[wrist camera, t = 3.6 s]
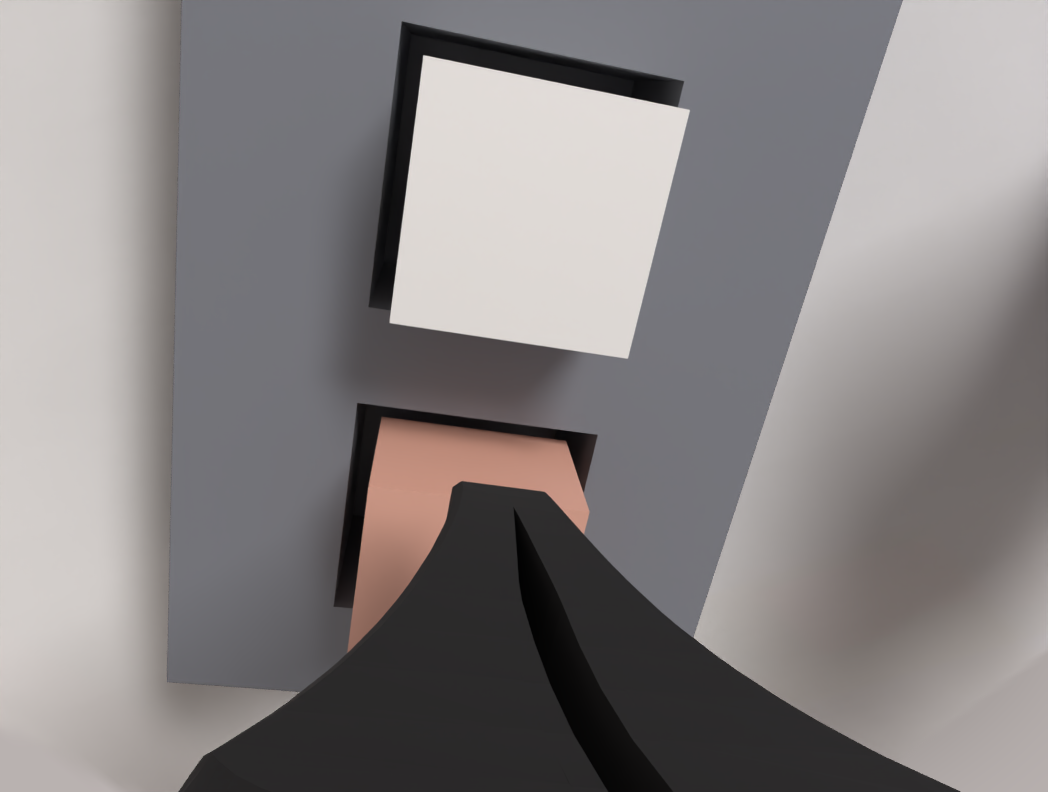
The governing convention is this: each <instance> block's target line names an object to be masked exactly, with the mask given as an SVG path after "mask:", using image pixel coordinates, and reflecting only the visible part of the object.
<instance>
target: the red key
mask: <svg viewBox="0 0 1048 792" xmlns="http://www.w3.org/2000/svg"><path fill="white" fill-rule="evenodd" d="M461 481H466V482H474V483H482V484H489V485H497V486H505V487H513V488H520V489H528V490H536V491H543V492H546V493H547V494H548V495H549V496H550V497H551V498H552V499H553V500H554V501H555V503H556V504H557V505H558V506H559V507H560V508H561V509H562V510H563V511H564V513H565V514H566V515H567V516H568V517H569V518H570V519H571V521H572V522H573V523H574V524H575V525H576V526H577V527H578V528H579V530H580V531H581V532H582V533H583V534H584V532H585V528H586V524H587V520H588V516H589V512H590V511H589V508H588V505H587V502H586V499H585V496H584V493H583V490H582V487H581V484H580V481H579V478H578V475H577V472H576V469H575V466H574V463H573V460H572V457H571V454H570V451H569V448H568V445H567V442H566V441H565V440H557V439H550V438H542V437H534V436H527V435H519V434H511V433H504V432H496V431H488V430H481V429H473V428H465V427H458V426H450V425H442V424H435V423H427V422H419V421H412V420H404V419H397V418H389V417H382V418H381V423H380V428H379V434H378V439H377V444H376V449H375V455H374V460H373V465H372V471H371V476H370V481H369V486H368V494H367V502H366V510H365V518H364V526H363V533H362V541H361V549H360V557H359V565H358V573H357V580H356V588H355V596H354V604H353V612H352V620H351V627H350V635H349V643H348V651H347V653H348V652H349V651H350V650H351V649H352V648H353V647H354V646H355V645H356V644H357V643H358V642H359V641H360V640H361V639H362V638H363V637H364V636H365V635H366V634H367V633H368V632H369V631H370V630H371V629H372V628H373V627H374V626H375V625H376V624H377V622H378V621H379V620H380V619H381V618H382V617H383V616H384V614H385V613H386V612H387V611H388V610H389V609H390V607H391V606H392V605H393V604H394V603H395V601H396V600H397V599H398V598H399V596H400V595H401V594H402V592H403V591H404V590H405V588H406V587H407V586H408V584H409V583H410V582H411V580H412V579H413V577H414V576H415V574H416V572H417V571H418V569H419V568H420V566H421V565H422V563H423V562H424V560H425V559H426V557H427V556H428V554H429V552H430V551H431V549H432V547H433V545H434V543H435V541H436V539H437V537H438V535H439V534H440V532H441V530H442V528H443V526H444V524H445V521H446V518H447V513H448V508H449V502H450V497H451V492H452V487H453V486H455V485H456V484H458V483H459V482H461Z"/></svg>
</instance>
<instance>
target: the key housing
mask: <svg viewBox="0 0 1048 792" xmlns="http://www.w3.org/2000/svg"><path fill="white" fill-rule="evenodd" d="M902 1H903V0H182V10H181V57H180V103H179V149H178V195H177V242H176V288H175V334H174V381H173V427H172V473H171V519H170V566H169V612H168V658H167V682H174V683H188V684H202V685H215V686H229V687H242V688H256V689H269V690H283V691H296V692H301V691H302V690H304V689H305V688H306V687H308V686H309V685H310V684H311V683H313V682H314V681H315V680H316V679H318V678H319V677H320V676H321V675H323V674H324V673H325V672H326V671H328V670H329V669H330V668H331V667H333V666H334V665H335V664H336V663H337V662H338V661H339V660H340V659H341V658H343V657H344V656H345V655H346V654H347V651H348V643H349V635H350V627H351V620H352V612H353V604H354V596H355V588H356V580H357V573H358V565H359V557H360V549H361V541H362V533H363V526H364V518H365V510H366V502H367V494H368V486H369V481H370V476H371V471H372V465H373V460H374V455H375V449H376V444H377V439H378V434H379V428H380V423H381V418H382V417H389V418H397V419H404V420H412V421H419V422H427V423H435V424H442V425H450V426H458V427H465V428H473V429H481V430H488V431H496V432H504V433H511V434H519V435H527V436H534V437H542V438H550V439H557V440H565V441H566V442H567V445H568V448H569V451H570V454H571V457H572V460H573V463H574V466H575V469H576V472H577V475H578V478H579V481H580V484H581V487H582V490H583V493H584V496H585V499H586V502H587V505H588V508H589V511H590V512H589V516H588V520H587V524H586V528H585V532H584V535H585V536H586V537H587V538H588V540H589V541H590V542H591V543H592V544H593V545H594V546H595V547H596V548H597V549H598V550H599V551H600V553H601V554H602V555H603V556H604V557H605V558H606V559H607V560H608V561H609V562H610V563H611V564H612V565H613V566H614V567H615V568H616V569H617V570H618V571H619V572H620V573H621V574H622V575H623V576H624V577H625V578H626V579H627V580H628V581H629V582H630V583H631V584H632V585H633V586H634V587H635V588H636V589H637V590H638V591H639V592H640V593H641V594H643V595H644V596H645V597H646V598H647V599H648V600H649V601H650V602H651V603H652V604H653V605H654V606H655V607H657V608H658V609H659V610H660V611H661V612H662V613H663V614H664V615H666V616H667V617H668V618H669V619H670V620H672V621H673V622H674V623H675V624H676V625H677V626H679V627H680V628H681V629H682V630H684V631H685V632H686V633H688V634H689V635H690V636H691V637H693V636H694V633H695V630H696V627H697V624H698V621H699V618H700V615H701V612H702V609H703V606H704V603H705V600H706V597H707V594H708V591H709V588H710V585H711V582H712V579H713V576H714V573H715V570H716V566H717V563H718V560H719V557H720V554H721V551H722V548H723V545H724V542H725V539H726V536H727V533H728V530H729V527H730V524H731V521H732V518H733V515H734V512H735V509H736V506H737V503H738V500H739V497H740V494H741V490H742V487H743V484H744V481H745V478H746V475H747V472H748V469H749V466H750V463H751V460H752V457H753V454H754V451H755V448H756V445H757V442H758V439H759V436H760V433H761V430H762V427H763V424H764V421H765V417H766V414H767V411H768V408H769V405H770V402H771V399H772V396H773V393H774V390H775V387H776V384H777V381H778V378H779V375H780V372H781V369H782V366H783V363H784V360H785V357H786V354H787V351H788V348H789V344H790V341H791V338H792V335H793V332H794V329H795V326H796V323H797V320H798V317H799V314H800V311H801V308H802V305H803V302H804V299H805V296H806V293H807V290H808V287H809V284H810V281H811V278H812V275H813V272H814V268H815V265H816V262H817V259H818V256H819V253H820V250H821V247H822V244H823V241H824V238H825V235H826V232H827V229H828V226H829V223H830V220H831V217H832V214H833V211H834V208H835V205H836V202H837V199H838V195H839V192H840V189H841V186H842V183H843V180H844V177H845V174H846V171H847V168H848V165H849V162H850V159H851V156H852V153H853V150H854V147H855V144H856V141H857V138H858V135H859V132H860V129H861V126H862V123H863V119H864V116H865V113H866V110H867V107H868V104H869V101H870V98H871V95H872V92H873V89H874V86H875V83H876V80H877V77H878V74H879V71H880V68H881V65H882V62H883V59H884V56H885V53H886V50H887V46H888V43H889V40H890V37H891V34H892V31H893V28H894V25H895V22H896V19H897V16H898V13H899V10H900V7H901V4H902ZM423 55H425V56H430V57H435V58H440V59H444V60H449V61H454V62H459V63H464V64H469V65H474V66H478V67H483V68H488V69H493V70H498V71H503V72H508V73H513V74H517V75H522V76H527V77H532V78H537V79H542V80H547V81H551V82H556V83H561V84H566V85H571V86H576V87H581V88H585V89H590V90H595V91H600V92H605V93H610V94H615V95H620V96H624V97H629V98H634V99H639V100H644V101H649V102H654V103H658V104H663V105H668V106H673V107H678V108H683V109H688V110H690V112H689V116H688V120H687V124H686V128H685V132H684V136H683V140H682V144H681V148H680V152H679V156H678V160H677V164H676V168H675V172H674V176H673V180H672V184H671V188H670V192H669V196H668V200H667V204H666V208H665V212H664V216H663V220H662V224H661V228H660V232H659V236H658V240H657V244H656V248H655V252H654V256H653V260H652V264H651V268H650V272H649V276H648V280H647V284H646V288H645V292H644V296H643V300H642V304H641V308H640V312H639V316H638V320H637V324H636V328H635V332H634V336H633V340H632V344H631V348H630V352H629V356H628V359H626V358H619V357H613V356H606V355H599V354H593V353H586V352H579V351H573V350H566V349H559V348H553V347H546V346H539V345H533V344H526V343H519V342H513V341H506V340H499V339H493V338H486V337H479V336H473V335H466V334H459V333H453V332H446V331H439V330H432V329H426V328H419V327H412V326H406V325H399V324H392V323H389V322H390V314H391V306H392V298H393V291H394V283H395V275H396V267H397V259H398V251H399V244H400V236H401V228H402V220H403V212H404V204H405V196H406V189H407V181H408V173H409V165H410V157H411V149H412V142H413V134H414V126H415V118H416V110H417V102H418V95H419V87H420V79H421V71H422V63H423Z"/></svg>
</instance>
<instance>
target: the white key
mask: <svg viewBox="0 0 1048 792" xmlns="http://www.w3.org/2000/svg"><path fill="white" fill-rule="evenodd" d="M689 112H690V110H688V109H683V108H678V107H673V106H668V105H663V104H658V103H654V102H649V101H644V100H639V99H634V98H629V97H624V96H620V95H615V94H610V93H605V92H600V91H595V90H590V89H585V88H581V87H576V86H571V85H566V84H561V83H556V82H551V81H547V80H542V79H537V78H532V77H527V76H522V75H517V74H513V73H508V72H503V71H498V70H493V69H488V68H483V67H478V66H474V65H469V64H464V63H459V62H454V61H449V60H444V59H440V58H435V57H430V56H425V55H423V63H422V71H421V79H420V87H419V95H418V102H417V110H416V118H415V126H414V134H413V142H412V149H411V157H410V165H409V173H408V181H407V189H406V196H405V204H404V212H403V220H402V228H401V236H400V244H399V251H398V259H397V267H396V275H395V283H394V291H393V298H392V306H391V314H390V322H389V323H392V324H399V325H406V326H412V327H419V328H426V329H432V330H439V331H446V332H453V333H459V334H466V335H473V336H479V337H486V338H493V339H499V340H506V341H513V342H519V343H526V344H533V345H539V346H546V347H553V348H559V349H566V350H573V351H579V352H586V353H593V354H599V355H606V356H613V357H619V358H626V359H628V356H629V352H630V348H631V344H632V340H633V336H634V332H635V328H636V324H637V320H638V316H639V312H640V308H641V304H642V300H643V296H644V292H645V288H646V284H647V280H648V276H649V272H650V268H651V264H652V260H653V256H654V252H655V248H656V244H657V240H658V236H659V232H660V228H661V224H662V220H663V216H664V212H665V208H666V204H667V200H668V196H669V192H670V188H671V184H672V180H673V176H674V172H675V168H676V164H677V160H678V156H679V152H680V148H681V144H682V140H683V136H684V132H685V128H686V124H687V120H688V116H689Z"/></svg>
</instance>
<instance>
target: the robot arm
mask: <svg viewBox="0 0 1048 792" xmlns="http://www.w3.org/2000/svg"><path fill="white" fill-rule="evenodd" d="M179 792H960V791H958V790H956V789H954V788H951V787H949V786H947V785H945V784H943V783H940V782H938V781H936V780H934V779H932V778H930V777H927V776H925V775H923V774H921V773H919V772H917V771H915V770H912V769H910V768H908V767H906V766H904V765H902V764H899V763H897V762H895V761H893V760H891V759H889V758H886V757H884V756H882V755H880V754H878V753H876V752H874V751H872V750H870V749H869V748H867V747H865V746H863V745H861V744H859V743H857V742H856V741H854V740H852V739H850V738H848V737H846V736H844V735H843V734H841V733H839V732H837V731H835V730H833V729H831V728H830V727H828V726H826V725H824V724H822V723H820V722H819V721H817V720H815V719H813V718H812V717H810V716H808V715H807V714H805V713H803V712H802V711H800V710H798V709H796V708H795V707H793V706H791V705H790V704H788V703H786V702H785V701H783V700H781V699H780V698H778V697H777V696H775V695H774V694H772V693H771V692H769V691H768V690H766V689H765V688H763V687H762V686H760V685H758V684H757V683H755V682H754V681H752V680H751V679H749V678H748V677H746V676H745V675H743V674H742V673H740V672H739V671H737V670H736V669H734V668H733V667H731V666H730V665H729V664H727V663H726V662H724V661H723V660H722V659H720V658H719V657H717V656H716V655H715V654H713V653H712V652H711V651H709V650H708V649H707V648H706V647H704V646H703V645H702V644H700V643H699V642H698V641H697V640H695V639H694V638H693V637H691V636H690V635H689V634H688V633H686V632H685V631H684V630H682V629H681V628H680V627H679V626H677V625H676V624H675V623H674V622H673V621H672V620H670V619H669V618H668V617H667V616H666V615H664V614H663V613H662V612H661V611H660V610H659V609H658V608H657V607H655V606H654V605H653V604H652V603H651V602H650V601H649V600H648V599H647V598H646V597H645V596H644V595H643V594H641V593H640V592H639V591H638V590H637V589H636V588H635V587H634V586H633V585H632V584H631V583H630V582H629V581H628V580H627V579H626V578H625V577H624V576H623V575H622V574H621V573H620V572H619V571H618V570H617V569H616V568H615V567H614V566H613V565H612V564H611V563H610V562H609V561H608V560H607V559H606V558H605V557H604V556H603V555H602V554H601V553H600V551H599V550H598V549H597V548H596V547H595V546H594V545H593V544H592V543H591V542H590V541H589V540H588V538H587V537H586V536H585V535H584V534H583V533H582V532H581V531H580V530H579V528H578V527H577V526H576V525H575V524H574V523H573V522H572V521H571V519H570V518H569V517H568V516H567V515H566V514H565V513H564V511H563V510H562V509H561V508H560V507H559V506H558V505H557V504H556V503H555V501H554V500H553V499H552V498H551V497H550V496H549V495H548V494H547V493H546V492H543V491H536V490H528V489H520V488H513V487H505V486H497V485H489V484H482V483H474V482H466V481H461V482H459V483H458V484H456V485H455V486H453V487H452V492H451V497H450V502H449V508H448V513H447V518H446V521H445V524H444V526H443V528H442V530H441V532H440V534H439V535H438V537H437V539H436V541H435V543H434V545H433V547H432V549H431V551H430V552H429V554H428V556H427V557H426V559H425V560H424V562H423V563H422V565H421V566H420V568H419V569H418V571H417V572H416V574H415V576H414V577H413V579H412V580H411V582H410V583H409V584H408V586H407V587H406V588H405V590H404V591H403V592H402V594H401V595H400V596H399V598H398V599H397V600H396V601H395V603H394V604H393V605H392V606H391V607H390V609H389V610H388V611H387V612H386V613H385V614H384V616H383V617H382V618H381V619H380V620H379V621H378V622H377V624H376V625H375V626H374V627H373V628H372V629H371V630H370V631H369V632H368V633H367V634H366V635H365V636H364V637H363V638H362V639H361V640H360V641H359V642H358V643H357V644H356V645H355V646H354V647H353V648H352V649H351V650H350V651H349V652H348V653H347V654H346V655H345V656H344V657H343V658H341V659H340V660H339V661H338V662H337V663H336V664H335V665H334V666H333V667H331V668H330V669H329V670H328V671H326V672H325V673H324V674H323V675H321V676H320V677H319V678H318V679H316V680H315V681H314V682H313V683H311V684H310V685H309V686H308V687H306V688H305V689H304V690H302V691H301V692H300V693H299V694H297V695H296V696H295V697H294V698H292V699H291V700H290V701H289V702H287V703H286V704H285V705H283V706H282V707H280V708H279V709H278V710H276V711H275V712H273V713H272V714H271V715H269V716H267V717H266V718H264V719H263V720H261V721H260V722H258V723H256V724H255V725H253V726H252V727H250V728H249V729H247V730H245V731H244V732H242V733H241V734H239V735H237V736H236V737H234V738H233V739H231V740H230V741H228V742H226V743H225V744H223V745H222V746H220V747H219V748H217V749H215V750H213V751H212V752H210V753H208V754H206V755H205V756H203V758H202V759H201V760H200V762H199V763H198V764H197V766H196V767H195V769H194V770H193V771H192V773H191V774H190V776H189V777H188V779H187V780H186V782H185V783H184V785H183V786H182V788H181V789H180V790H179Z"/></svg>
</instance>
